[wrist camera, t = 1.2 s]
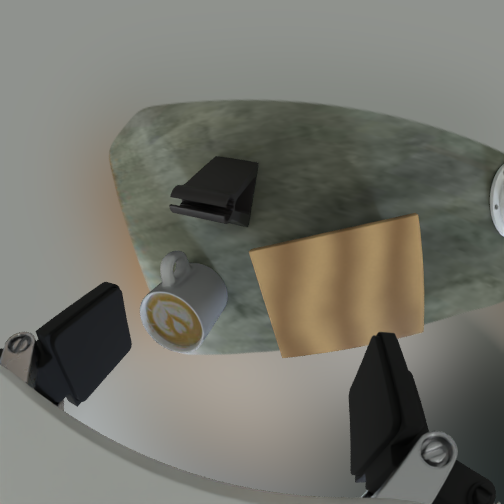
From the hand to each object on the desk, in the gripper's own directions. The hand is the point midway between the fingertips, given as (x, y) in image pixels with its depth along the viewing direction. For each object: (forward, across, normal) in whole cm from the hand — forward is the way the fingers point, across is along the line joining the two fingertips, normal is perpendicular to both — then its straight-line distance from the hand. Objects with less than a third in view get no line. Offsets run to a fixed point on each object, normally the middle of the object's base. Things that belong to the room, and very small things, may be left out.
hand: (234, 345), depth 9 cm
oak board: (+23, -8, +9) cm, 26 cm away
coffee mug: (+29, +13, +14) cm, 35 cm away
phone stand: (+29, +8, -1) cm, 30 cm away
